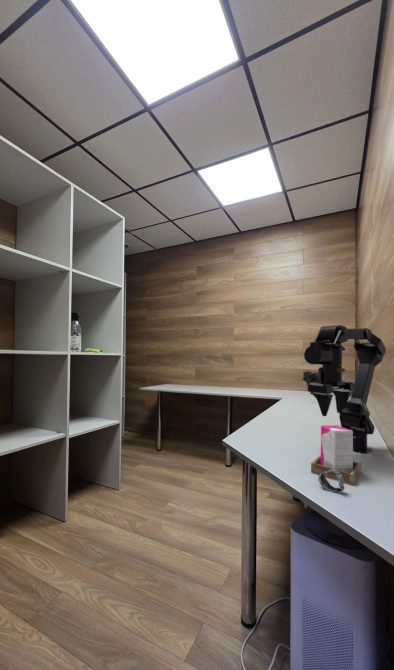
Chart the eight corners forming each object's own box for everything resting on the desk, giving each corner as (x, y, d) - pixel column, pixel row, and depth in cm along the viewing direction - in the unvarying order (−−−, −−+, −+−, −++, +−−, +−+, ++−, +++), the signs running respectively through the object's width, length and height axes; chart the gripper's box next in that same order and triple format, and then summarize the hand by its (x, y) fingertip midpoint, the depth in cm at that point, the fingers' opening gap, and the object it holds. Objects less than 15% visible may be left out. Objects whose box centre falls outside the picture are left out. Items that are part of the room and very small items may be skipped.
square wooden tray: (322, 462, 79) (322, 453, 79) (361, 472, 72) (360, 463, 73) (311, 472, 72) (311, 462, 72) (352, 485, 65) (352, 474, 65)
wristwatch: (334, 494, 64) (319, 473, 66) (351, 485, 61) (334, 464, 63) (328, 499, 62) (313, 478, 64) (345, 491, 59) (329, 469, 61)
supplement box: (354, 475, 70) (353, 430, 71) (334, 476, 69) (333, 430, 70) (338, 465, 76) (338, 424, 76) (319, 466, 75) (319, 424, 75)
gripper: (322, 363, 97) (322, 407, 96) (292, 363, 86) (291, 412, 85) (355, 365, 88) (355, 413, 87) (326, 365, 77) (325, 420, 76)
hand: (331, 414), depth 84 cm, fingers open, 9 cm apart
